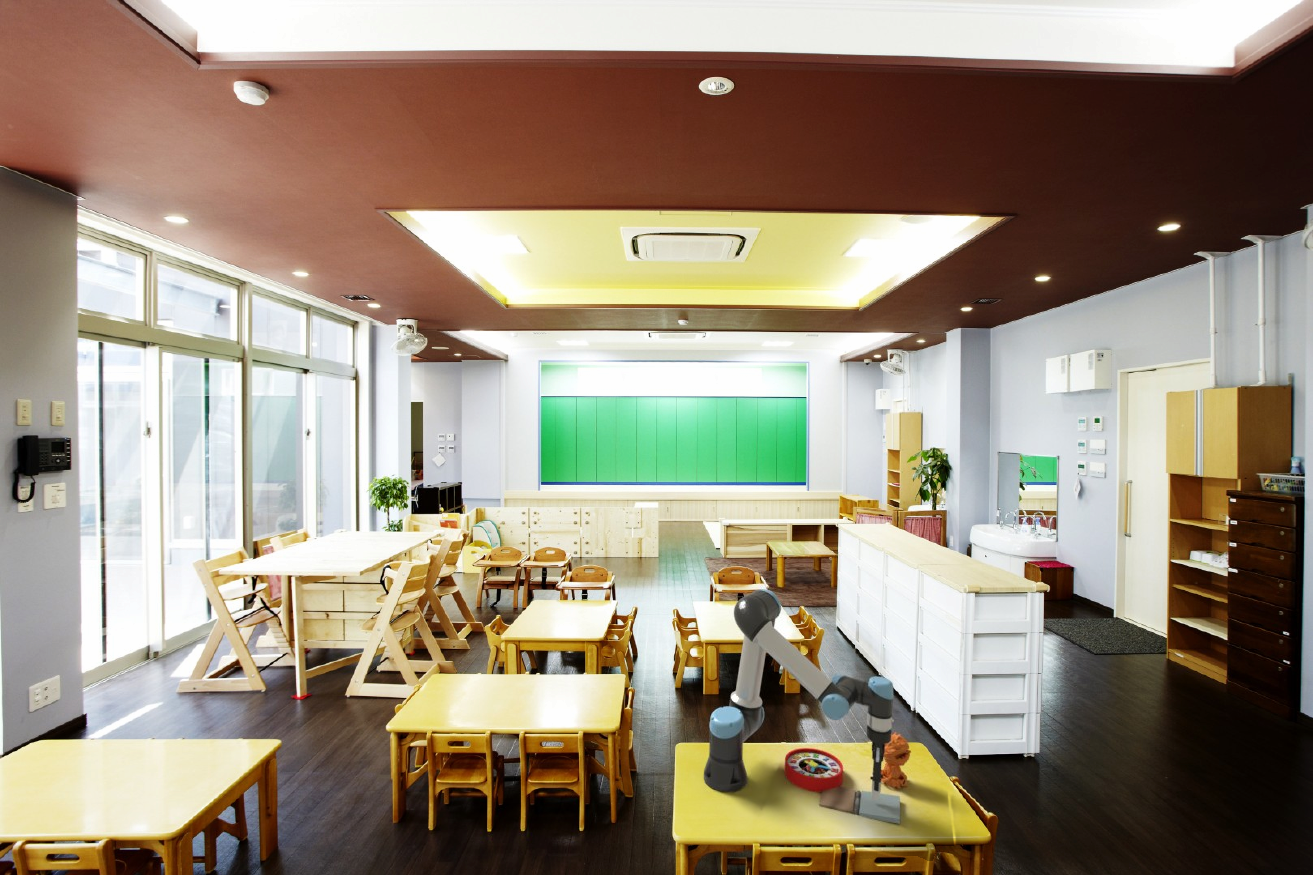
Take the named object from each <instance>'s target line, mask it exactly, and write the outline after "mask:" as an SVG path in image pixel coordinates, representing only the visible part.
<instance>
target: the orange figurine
mask: <svg viewBox="0 0 1313 875" xmlns="http://www.w3.org/2000/svg"><path fill="white" fill-rule="evenodd" d="M901 735H902V733H901V734H900V733H898V734H897V731H895V732H894V733H891V741H890V742H889V743H887V744H885V753H884V756H883V761H885V763H884V766H883V769H881V770H882V772H881V775H883V778H881V783H884V784H886V785H887V786H889V787H892V788H893V789H895V788H897V789H898V790H901V787H906V788H907V784H908V780H907V779H908V776H907V774H905V772H904V771H902V769H901V766H902V767H903V766H905V764H906V763H907V762H908V761H909V760H910V756H911V753H912V750H910V745H909V743H908V740H907V739H906V738H904V737H903V736H901Z"/></svg>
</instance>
